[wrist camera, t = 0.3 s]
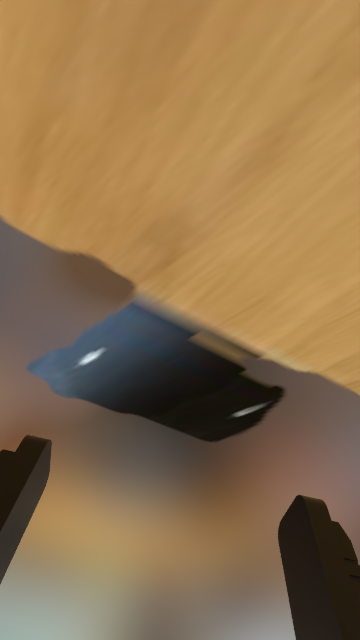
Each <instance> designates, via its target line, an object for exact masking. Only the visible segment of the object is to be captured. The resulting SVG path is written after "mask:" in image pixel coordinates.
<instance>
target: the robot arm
mask: <svg viewBox="0 0 360 640" xmlns="http://www.w3.org/2000/svg"><path fill="white" fill-rule="evenodd" d="M51 444H52V443H51V440H48V439H44V438H39V437H35V436H30V435H27V436H25V437H24V439H23V440H22V442H21V443H20V445H19V447H18V448H17V450H16V452H12V451H8V450H2V451H0V584H1V581H2V579H3V577H4V575H5V573H6V571H7V568H8V566H9V564H10V562H11V560H12V558H13V556H14V554H15V551H16V549H17V547H18V545H19V543H20V540H21V538H22V536H23V534H24V532H25V530H26V528H27V526H28V523H29V521H30V519H31V517H32V515H33V513H34V510H35V508H36V506H37V504H38V502H39V500H40V498H41V495H42V493H43V491H44V488H45V486H46V483H47V480H48V476H49V471H50V458H51ZM278 540H279V547H280V553H281V558H282V564H283V569H284V574H285V581H286V586H287V592H288V597H289V603H290V608H291V614H292V619H293V625H294V630H295V636H296V640H360V565H358V560H357V557H356V554H355V551H354V548H353V546H352V543H351V540H350V539H349V538H348V536H347V534H346V533H345V531H344V530H343V529H342V527H341V526H340V524H339V523H338V522H334V521H331V518H330V515H329V512H328V509H327V506H326V504H325V502H324V501H322V500H320V499H316V498H311V497H306V496H302V495H298V496H296V498H295V499H294V501H293V502H292V504H291V506H290V507H289V509H288V510H287V512H286V513H285V515H284V516H283V518H282V520H281V522H280V525H279V530H278Z"/></svg>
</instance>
